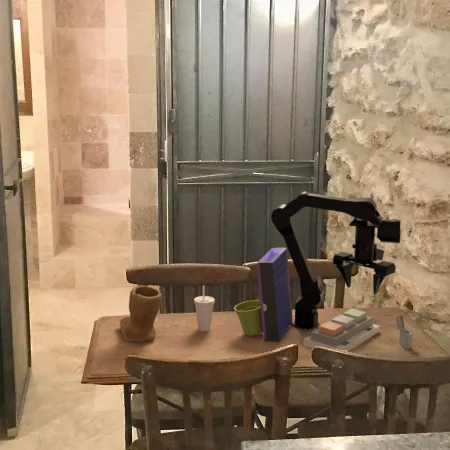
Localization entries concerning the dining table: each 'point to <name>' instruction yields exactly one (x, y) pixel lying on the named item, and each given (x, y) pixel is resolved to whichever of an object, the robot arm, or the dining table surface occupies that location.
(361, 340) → the grey piece
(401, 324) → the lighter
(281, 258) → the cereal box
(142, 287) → the brown clay boot
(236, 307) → the plant pot
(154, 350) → the dining table surface
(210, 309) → the smoothie
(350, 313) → the sage key
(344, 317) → the grey key
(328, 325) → the clay key
